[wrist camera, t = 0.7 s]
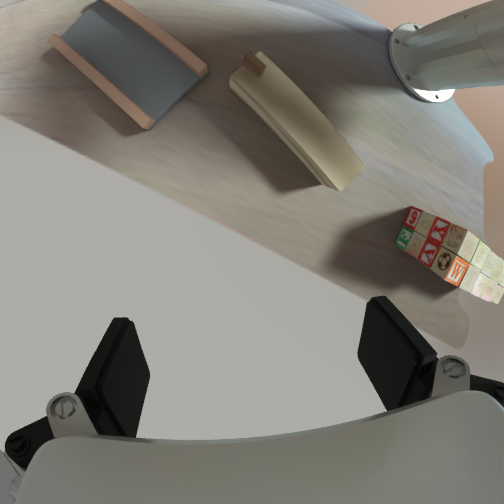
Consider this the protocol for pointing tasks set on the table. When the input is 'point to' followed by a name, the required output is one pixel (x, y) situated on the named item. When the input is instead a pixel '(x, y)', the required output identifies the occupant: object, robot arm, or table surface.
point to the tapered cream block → (296, 121)
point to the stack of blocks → (453, 254)
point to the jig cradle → (131, 60)
